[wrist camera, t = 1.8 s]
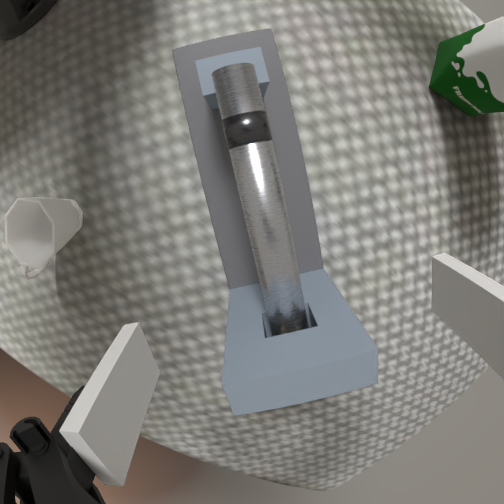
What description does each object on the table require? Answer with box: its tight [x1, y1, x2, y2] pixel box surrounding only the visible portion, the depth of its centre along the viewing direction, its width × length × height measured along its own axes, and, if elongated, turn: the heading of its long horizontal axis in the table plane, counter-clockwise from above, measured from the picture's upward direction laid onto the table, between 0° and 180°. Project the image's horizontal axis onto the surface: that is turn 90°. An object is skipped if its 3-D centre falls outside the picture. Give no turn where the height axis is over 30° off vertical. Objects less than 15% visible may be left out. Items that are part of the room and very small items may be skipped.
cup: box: [5, 197, 83, 280], centre depth 28 cm, size 7×10×8 cm
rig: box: [172, 28, 378, 416], centre depth 24 cm, size 34×10×16 cm, turn 13°
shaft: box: [211, 63, 309, 337], centre depth 23 cm, size 26×3×3 cm, turn 13°
